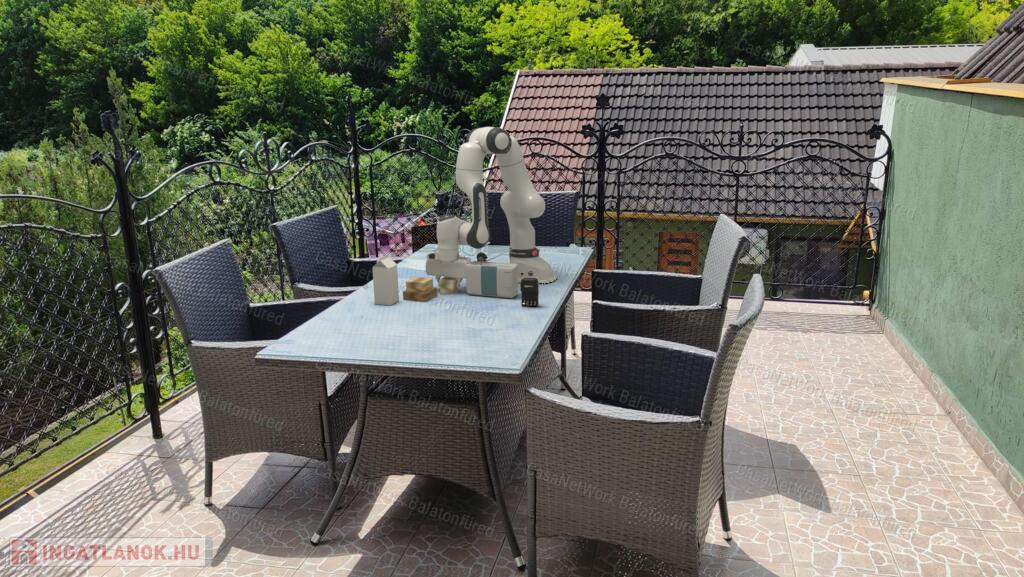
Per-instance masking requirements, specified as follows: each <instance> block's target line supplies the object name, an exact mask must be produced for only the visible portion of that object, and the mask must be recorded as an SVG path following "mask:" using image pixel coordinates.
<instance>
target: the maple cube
mask: <svg viewBox="0 0 1024 577" xmlns="http://www.w3.org/2000/svg"><path fill="white" fill-rule="evenodd" d="M458 281H459V280H457V278H453V277H441V278H440V280H439V284H440V286H439V294H441V293H443V295H451V294H453V295H455V294H457V293H459V292H460V288H455V284H456V283H458ZM458 291H459V292H458ZM456 292H457V293H456ZM454 293H455V294H454Z"/></svg>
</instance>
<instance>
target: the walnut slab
mask: <svg viewBox="0 0 1024 577" xmlns="http://www.w3.org/2000/svg"><path fill="white" fill-rule="evenodd" d="M436 297H438V287H435V286H433V288H432V289H430V290H428V291H426V292H424V293H423V292H410V291H406V289H405V290H403V291H402V298H403V299H402V300H403V301H410V302H418V303H419V302H420V303H427V302H429V301H430V300H432V299H435V298H436Z"/></svg>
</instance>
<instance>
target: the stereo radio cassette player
mask: <svg viewBox="0 0 1024 577" xmlns="http://www.w3.org/2000/svg"><path fill="white" fill-rule="evenodd" d="M513 249H515V248H513ZM511 250H512V249H511ZM509 251H510V250H506V251H504V252H502V253H500V254H497V255H496V256H493V257H491V258H489V259H486V260H487V261H485V262H481V261H477V260H474V261H471V264H467V265H466V279H465V286H466V287H465V288H466V290H465V291H466V293H467V294H468V295H470V296H483V297H493V298H505V299H506V298H507V299H511V298H512V299H513V298H514V297H515V296H517V295H518V293H519V283H518V264H510V262H509V263H507V262H506V263H505V262H492V260H494V259H496V258H497V257H500V256H502V255H504V254H506V253H508V252H509Z"/></svg>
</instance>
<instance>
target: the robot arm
mask: <svg viewBox="0 0 1024 577" xmlns="http://www.w3.org/2000/svg"><path fill="white" fill-rule="evenodd" d="M519 144H520V143H519V141H518V140H517V138H516V137H514V136H512V135H510V134H509V133H508V132H507V130H505V129H504V128H502V127H500V126H499V127H495V126H483V127H475V128H473V129H472V130H471V131H469V132H468V135H467V137H466V141H465V142H464V143H462V144H461V145H460V146H459V148H458V153H457V156H456V157H457V158H456V164H455V182H456V183H455V184H456V185H457V187H458V188H459V189H460V191H462V192H463V193H464V194H466V196H467V197H468V198H469V200H470V202H471V219H472V220H471V221H467V220H463V219H461V218H459V217H457V216H456V215H454V214H445V215H441V216H440V217H439V218H438V220H437V222H436V240H437V247H436V250H434V251H431V252H428V253H427V254H426V260H425V273H426V275H427V276H434V277H435V279H436V281H437V284H438V287H440V284H439V280H440V279H442V278H444V277H453V278H457V280H459V281H458V283H456V284H455V288H459V289H460V288H461V283H462V281H463V279H465V280H466V265H467V264H471V262H472V258H470V257H469V256H468V255H460V250H459V246H460V244H461V245H464V246H469V247H472V248H473V249H476V250H479V249H482V248H484V247H485V246H487V245H488V243H489V240H490V237H491V234H490V228H489V224H488V207H487V204H488V203H487V192H486V191H487V190H486V188H485V185H484V181H483V180H484V179H483V178H484V177H483V174H484V173H483V170H484V159H485V157H486V156H487V155H493V154H494V155H495V157H496V159H497V164H498V168H499V171H500V175H501V178H502V182H503V183H504V185H505V186H506V188H508V190H509V191H505V192H504V193H503V194H502V195H501V197H500V201H499V203H500V207H501V209H502V211H503V212H504V214H505V216H506V219H507V223H508V229H509V242H510V243H509V250H510V251H509V250H508V252H509V253H508V254H509V255H508V256H509V264H518V284H521V280H522V278H523V277H536V278H538V280H539V283H542V284H541V285H544V284H545V283H548V284H550V283H549V282H552V283H554V282H555V281H557V280H558V275H556V274H553V271H552V270H553V269H552V266H551V264H550V263H549V262H548V261H546V260H545V259H544V258H543V257H541V255H540V252H541V251H540V250H541V248H537V247H536V230H535V228H534V226H533V225H532V223H531V221H530V220H531V219H536V218H540V217H541V216H543V214H544V213H545V210H546V202H545V199H544V197H542V196H541V195H540V194H539V193H538V191H537V190H536V187H535V186H534V184H533V182H532V180H531V179H530V176H529V173H528V170H527V166H526V162H525V159H524V155H523V151H522V149H521V146H520V145H519ZM513 248H515V249H513ZM511 249H512V250H511ZM556 279H557V280H556ZM554 280H555V281H554ZM553 281H554V282H553ZM543 283H544V284H543ZM545 285H546V284H545Z"/></svg>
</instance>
